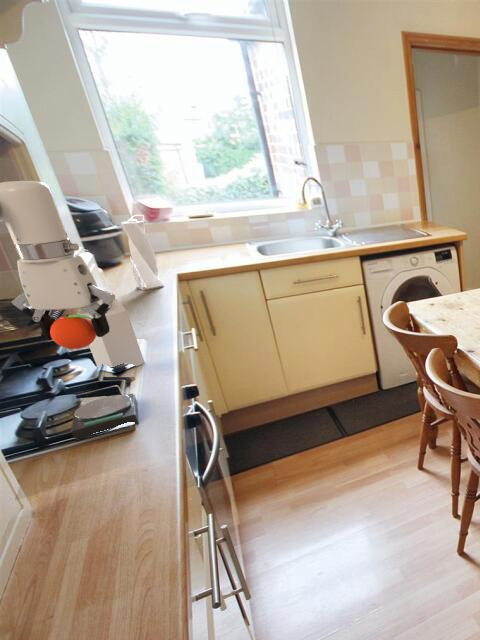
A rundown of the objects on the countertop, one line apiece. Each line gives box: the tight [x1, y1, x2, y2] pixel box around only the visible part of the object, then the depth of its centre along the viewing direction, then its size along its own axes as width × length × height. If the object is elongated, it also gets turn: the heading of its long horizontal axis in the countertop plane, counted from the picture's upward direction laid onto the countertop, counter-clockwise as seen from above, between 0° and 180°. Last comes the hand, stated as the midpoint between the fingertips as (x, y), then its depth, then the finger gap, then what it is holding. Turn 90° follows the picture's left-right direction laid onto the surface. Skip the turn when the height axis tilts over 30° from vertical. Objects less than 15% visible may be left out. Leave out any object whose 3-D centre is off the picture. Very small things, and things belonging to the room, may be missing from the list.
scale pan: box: [73, 394, 132, 421], centre depth 97 cm, size 9×9×1 cm
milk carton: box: [76, 292, 146, 368], centre depth 117 cm, size 7×7×19 cm
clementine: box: [50, 314, 96, 350], centre depth 94 cm, size 8×7×7 cm
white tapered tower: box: [120, 213, 165, 292], centre depth 180 cm, size 8×8×28 cm
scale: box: [70, 392, 140, 439], centre depth 97 cm, size 11×10×3 cm
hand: (79, 335), depth 94 cm, fingers closed on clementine, 8 cm apart
